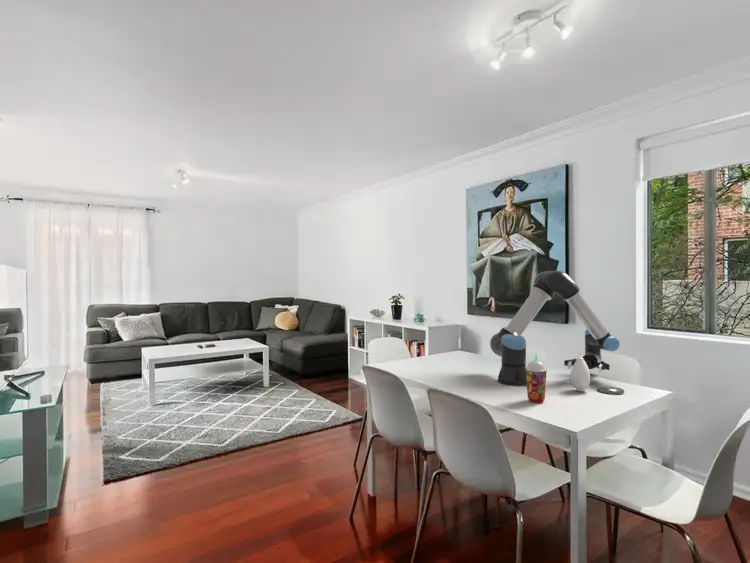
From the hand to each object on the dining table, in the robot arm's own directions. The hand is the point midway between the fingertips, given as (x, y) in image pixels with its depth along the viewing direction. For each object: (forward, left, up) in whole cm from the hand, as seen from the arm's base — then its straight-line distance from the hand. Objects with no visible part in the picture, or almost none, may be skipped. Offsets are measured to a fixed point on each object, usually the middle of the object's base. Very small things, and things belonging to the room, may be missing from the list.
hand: (583, 367), depth 205 cm
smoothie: (-41, +5, -9) cm, 42 cm away
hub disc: (-1, -12, -9) cm, 15 cm away
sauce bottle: (-10, -2, -9) cm, 14 cm away
